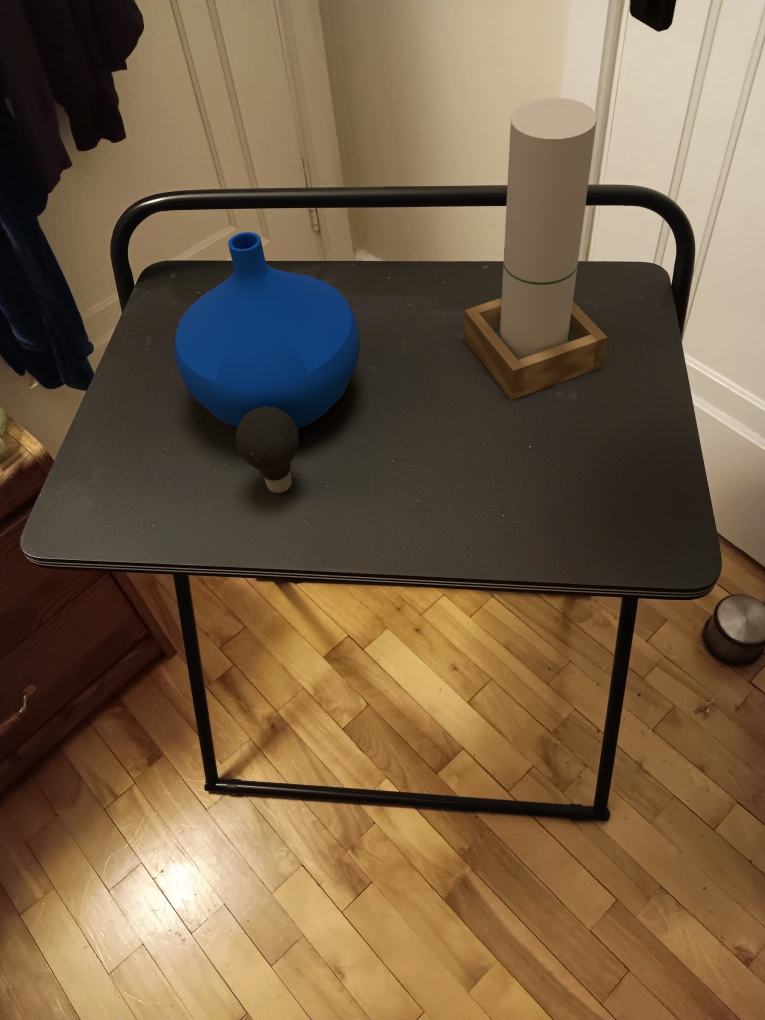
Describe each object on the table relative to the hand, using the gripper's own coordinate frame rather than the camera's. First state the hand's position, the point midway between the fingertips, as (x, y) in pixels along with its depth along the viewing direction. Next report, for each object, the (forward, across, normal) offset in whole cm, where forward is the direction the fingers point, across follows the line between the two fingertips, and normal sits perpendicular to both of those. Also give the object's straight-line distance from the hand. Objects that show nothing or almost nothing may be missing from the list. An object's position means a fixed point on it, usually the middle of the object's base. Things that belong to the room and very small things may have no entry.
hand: (721, 2), depth 48 cm
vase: (+40, -26, +24) cm, 54 cm away
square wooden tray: (+40, +1, +18) cm, 44 cm away
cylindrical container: (+40, +1, +18) cm, 44 cm away
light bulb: (+40, -30, +12) cm, 52 cm away
